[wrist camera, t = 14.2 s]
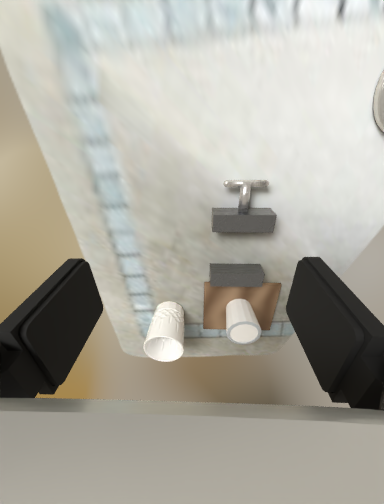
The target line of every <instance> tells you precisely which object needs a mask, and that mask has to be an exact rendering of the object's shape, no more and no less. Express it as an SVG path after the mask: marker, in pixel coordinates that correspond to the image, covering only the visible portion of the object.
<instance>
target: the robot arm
mask: <svg viewBox="0 0 384 504" xmlns="http://www.w3.org/2000/svg"><path fill="white" fill-rule="evenodd" d="M373 110H374V117H375V120H376V122H377V125H378V126H379V128H380V129H381V130H382V131H383V132H384V70H383V72H382V74H381V76H380V79H379V81H378V84H377V87H376V91H375V95H374V104H373ZM102 311H103V304H102V301H101V298H100V295H99V292H98V289H97V286H96V283H95V280H94V277H93V274H92V271H91V268H90V265H89V263H88V262H86V261H85V260H84V259H68V260H67V261H66V262H65V263H64V264H63V265H62V266H61V267H59V268H58V269H57V270H56V271H55V272H54V273H53V274H52V275H51V276H50V277H49V278H48V279H47V280H46V281H45V282H44V283H43V284H42V285H41V286H40V287H39V288H38V289H37V290H35V292H33V293H32V294H31V295H30V296H29V297H28V298H27V299H26V300H25V301H24V302H23V303H22V304H21V305H20V306H19V307H18V308H17V309H16V310H15V311H14V312H13V313H12V314H10V315H9V316H8V317H7V318H6V319H5V320H4V322H2V323H1V324H0V504H384V325H383V324H382V323H381V322H380V321H379V320H378V319H377V318H376V317H375V316H374V315H373V314H372V313H371V312H370V311H369V309H368V308H367V307H366V306H365V305H364V304H363V303H362V302H361V301H360V300H359V299H358V298H357V297H356V295H355V294H354V293H353V292H352V291H351V290H350V289H349V288H348V287H347V286H346V285H345V284H344V283H343V282H342V280H341V279H340V278H339V277H338V276H337V275H336V274H335V273H334V272H333V271H332V270H331V269H330V268H329V267H328V266H327V264H326V263H325V262H324V261H323V260H322V259H321V258H320V257H304V258H303V259H302V260H300V261H299V262H298V264H297V267H296V271H295V275H294V279H293V283H292V286H291V290H290V294H289V298H288V301H287V305H286V311H287V315H288V317H289V319H290V321H291V323H292V325H293V328H294V330H295V332H296V334H297V336H298V338H299V340H300V343H301V345H302V347H303V349H304V351H305V353H306V355H307V358H308V360H309V362H310V364H311V366H312V368H313V370H314V373H315V375H316V377H317V379H318V381H319V383H320V385H321V387H322V389H323V390H324V391H325V392H328V393H329V396H330V398H331V400H332V402H337V403H349V405H350V407H351V408H338V407H318V406H295V405H266V404H236V403H235V404H234V403H206V402H205V403H204V402H171V401H138V400H136V401H135V400H98V399H56V398H35V396H36V395H37V393H38V392H39V394H54V393H55V391H56V390H57V388H58V386H59V385H61V384H62V383H63V382H64V381H65V379H66V378H67V376H68V374H69V372H70V370H71V368H72V366H73V365H74V363H75V361H76V359H77V357H78V356H79V354H80V352H81V350H82V348H83V347H84V345H85V343H86V341H87V339H88V337H89V336H90V334H91V332H92V330H93V328H94V327H95V324H96V323H97V321H98V319H99V317H100V316H101V314H102Z"/></svg>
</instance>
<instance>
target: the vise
mask: <svg viewBox="0 0 384 504" xmlns="http://www.w3.org/2000/svg"><path fill="white" fill-rule="evenodd" d="M268 185H269V181H267V180H226V181H224V186H225V187H240V197H239V206H238V208H212V232H273V230H274V225H275V220H276V214H275V213H274V212H273V211H272V210H271V208H248V206H249V199H250V191H251V187H267V186H268ZM264 275H265V274H264V272H263V270H262V268H261V266H260V264H210V275H209V276H210V286H222V287H262V284H263V280H264Z"/></svg>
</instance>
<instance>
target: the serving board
mask: <svg viewBox="0 0 384 504" xmlns="http://www.w3.org/2000/svg"><path fill="white" fill-rule="evenodd" d="M280 288H281V283H263V284H262V287H222V286H210V282H205V284H204V323H203V329H226V306H227V304H228V303H229V302H230V301H232V300H234V299H245V300H246V301H248V302H249V303H250V305H251V307H252V309H253V311H254V314H255V316H256V318H257V321H258V323H259V325H260V328H261V330H270V326H271V323H272V319H273V315H274V311H275V307H276V303H277V300H278V296H279V292H280Z"/></svg>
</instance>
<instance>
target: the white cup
mask: <svg viewBox="0 0 384 504" xmlns="http://www.w3.org/2000/svg"><path fill="white" fill-rule="evenodd" d="M143 348H144V351H145V353H146V354H147V355H148V356H149V357H151V358H152V359H155V360H158V361H163V362H168V361H174V360H176V359H178V358H180V357H181V356H182V354H183V351H184V310H183V308H182V307H181V306H180V305H179V304H177V303H175V302H171V301H168V302H163V303H161V304H159V305H158V306H157V308H156V310H155V313H154V316H153V318H152V321H151V324H150V327H149V330H148V333H147V336H146V340H145V343H144V346H143Z"/></svg>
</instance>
